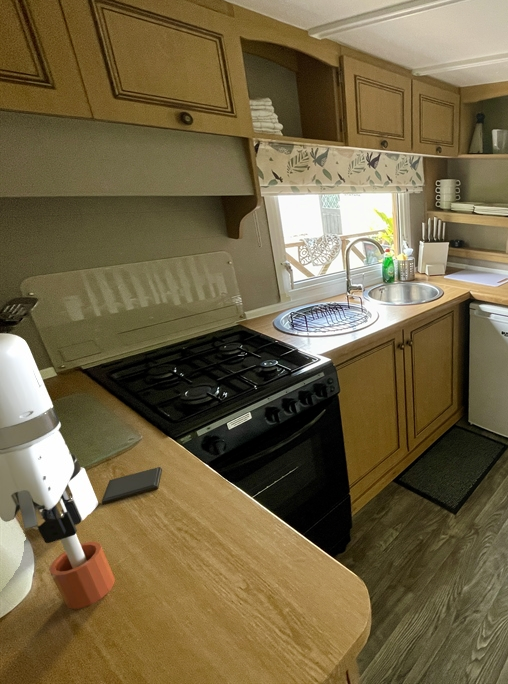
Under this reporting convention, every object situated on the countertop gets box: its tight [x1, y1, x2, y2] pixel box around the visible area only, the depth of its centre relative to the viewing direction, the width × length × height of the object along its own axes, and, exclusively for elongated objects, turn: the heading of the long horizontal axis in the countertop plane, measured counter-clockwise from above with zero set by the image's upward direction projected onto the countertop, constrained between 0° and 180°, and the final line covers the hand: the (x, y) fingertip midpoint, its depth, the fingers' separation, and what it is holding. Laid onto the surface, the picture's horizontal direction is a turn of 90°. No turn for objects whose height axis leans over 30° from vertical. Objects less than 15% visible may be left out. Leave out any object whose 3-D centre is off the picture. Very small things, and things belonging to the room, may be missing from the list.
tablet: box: [101, 466, 163, 506], centre depth 81 cm, size 9×7×1 cm
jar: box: [33, 453, 100, 531], centre depth 71 cm, size 9×8×12 cm
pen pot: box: [48, 541, 116, 610], centre depth 58 cm, size 6×6×8 cm
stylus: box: [50, 498, 87, 569], centre depth 56 cm, size 2×2×15 cm
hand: (64, 531), depth 55 cm, fingers closed on stylus, 1 cm apart
